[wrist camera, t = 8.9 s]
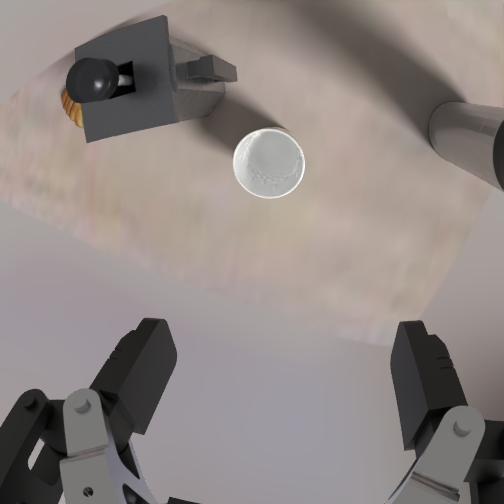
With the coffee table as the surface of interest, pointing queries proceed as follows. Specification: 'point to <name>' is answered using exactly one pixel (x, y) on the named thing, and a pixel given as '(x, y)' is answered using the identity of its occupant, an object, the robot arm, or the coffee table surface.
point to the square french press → (153, 80)
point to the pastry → (72, 109)
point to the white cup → (269, 162)
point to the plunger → (95, 80)
